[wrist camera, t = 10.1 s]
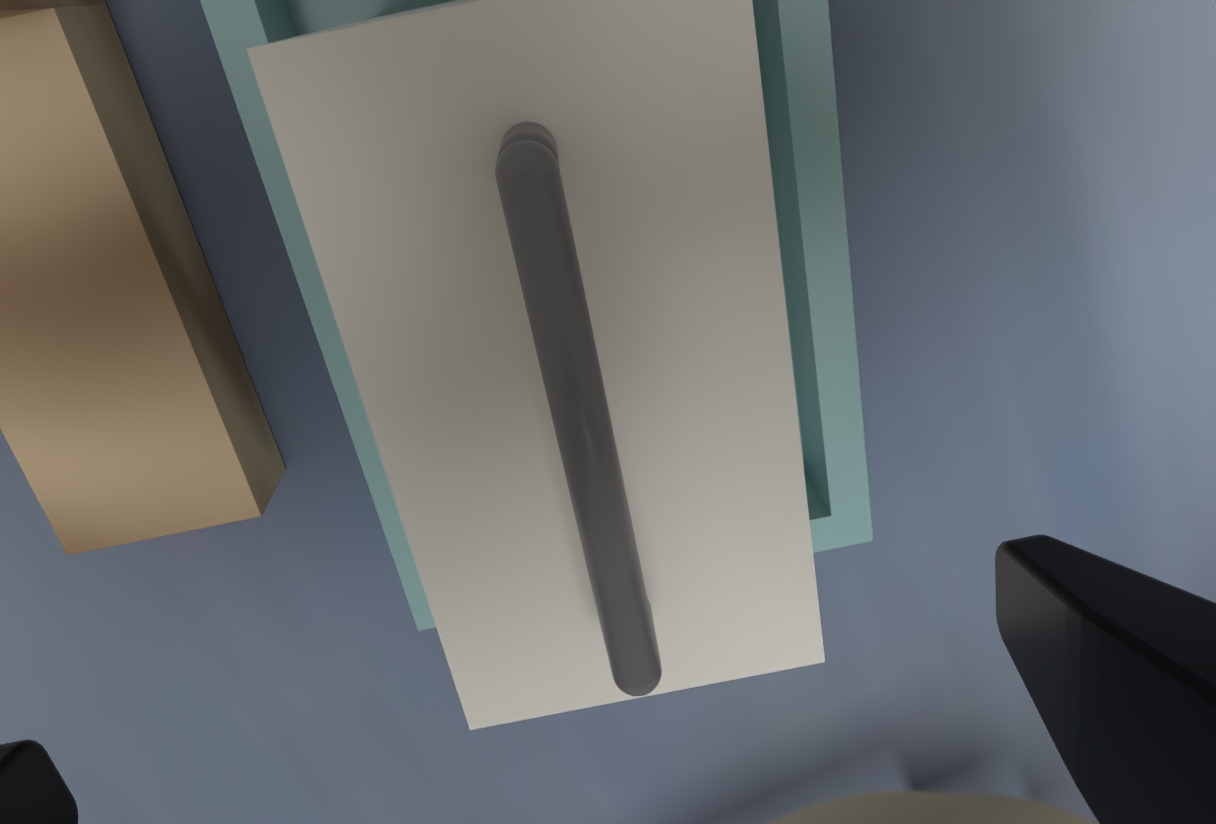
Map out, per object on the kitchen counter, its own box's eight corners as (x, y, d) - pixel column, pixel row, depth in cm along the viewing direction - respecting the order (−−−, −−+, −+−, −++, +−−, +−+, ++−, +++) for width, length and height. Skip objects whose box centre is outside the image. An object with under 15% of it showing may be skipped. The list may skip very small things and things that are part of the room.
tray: (838, 481, 22) (872, 541, 19) (430, 563, 22) (418, 631, 20) (770, -206, 16) (808, -236, 14) (217, -87, 16) (166, -98, 14)
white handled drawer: (722, 416, 20) (858, 741, 12) (494, 461, 20) (462, 817, 12) (654, -41, 16) (782, -59, 8) (374, 17, 17) (195, 61, 8)
